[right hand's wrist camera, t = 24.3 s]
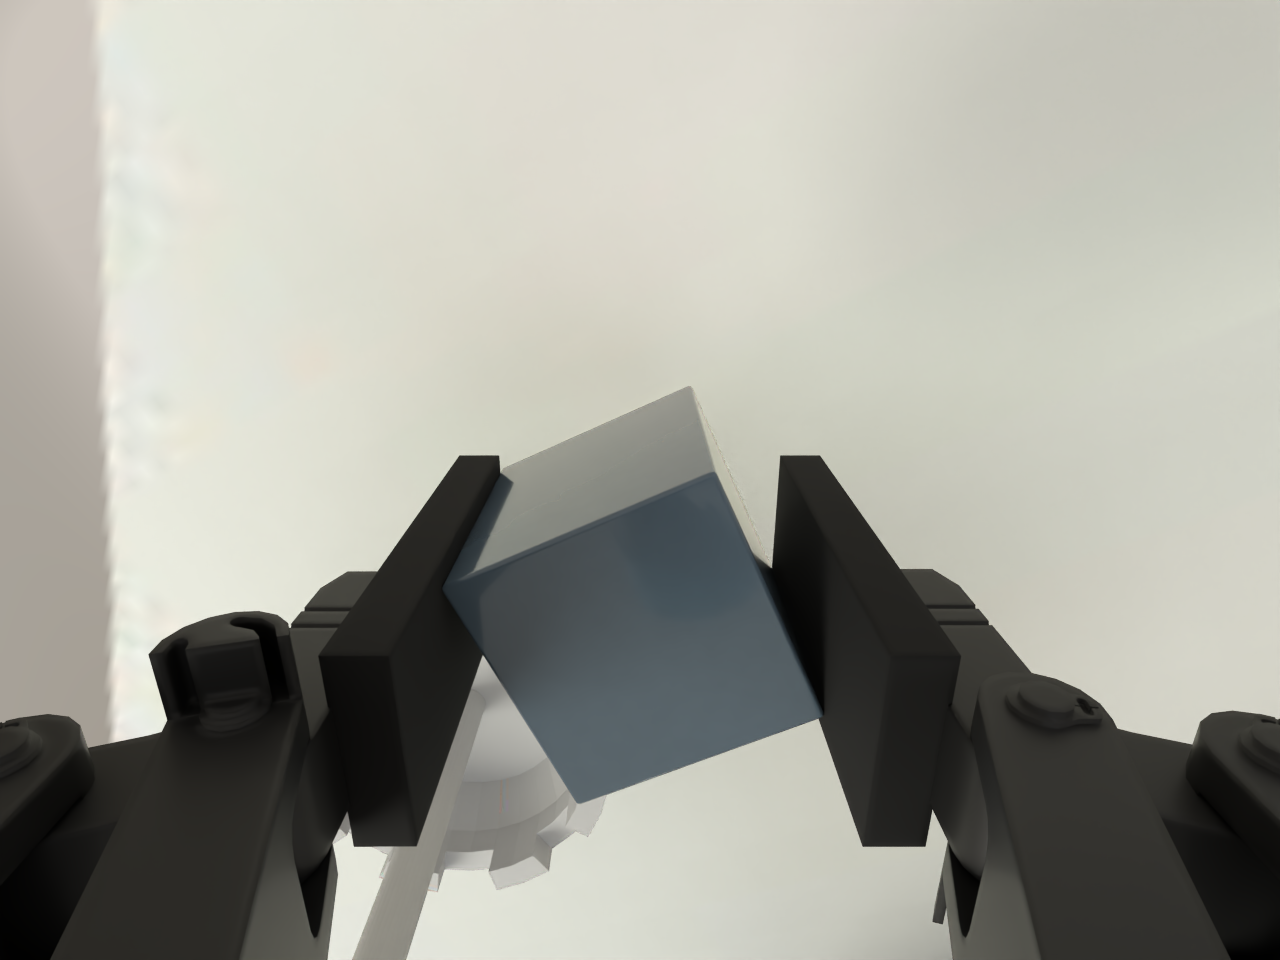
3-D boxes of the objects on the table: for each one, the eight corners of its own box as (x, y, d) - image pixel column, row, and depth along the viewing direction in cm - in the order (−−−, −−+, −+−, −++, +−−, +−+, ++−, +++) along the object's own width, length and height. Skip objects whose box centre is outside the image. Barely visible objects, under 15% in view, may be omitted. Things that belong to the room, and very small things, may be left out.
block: (771, 565, 15) (826, 717, 10) (595, 636, 15) (577, 807, 11) (690, 383, 13) (715, 471, 9) (501, 468, 14) (437, 588, 10)
